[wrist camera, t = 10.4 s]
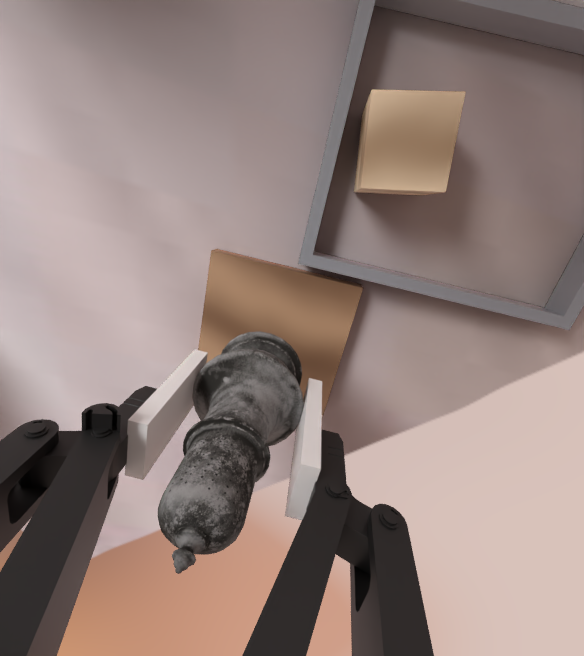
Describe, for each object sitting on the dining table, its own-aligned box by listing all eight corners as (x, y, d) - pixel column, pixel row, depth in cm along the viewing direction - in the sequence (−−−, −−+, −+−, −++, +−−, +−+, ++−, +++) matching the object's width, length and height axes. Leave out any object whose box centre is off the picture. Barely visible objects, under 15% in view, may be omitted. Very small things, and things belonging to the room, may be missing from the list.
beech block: (362, 114, 20) (371, 89, 16) (435, 116, 20) (465, 91, 16) (353, 192, 22) (360, 188, 18) (422, 195, 21) (445, 192, 17)
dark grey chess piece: (304, 414, 21) (281, 651, 10) (216, 407, 21) (95, 625, 10) (309, 329, 19) (286, 503, 8) (211, 323, 19) (53, 478, 8)
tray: (364, -16, 18) (369, -43, 16) (692, 61, 18) (736, 44, 16) (300, 259, 23) (298, 263, 22) (549, 320, 23) (569, 330, 21)
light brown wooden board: (216, 248, 24) (211, 250, 23) (361, 284, 24) (363, 288, 23) (199, 375, 28) (193, 382, 27) (323, 406, 28) (323, 415, 26)
